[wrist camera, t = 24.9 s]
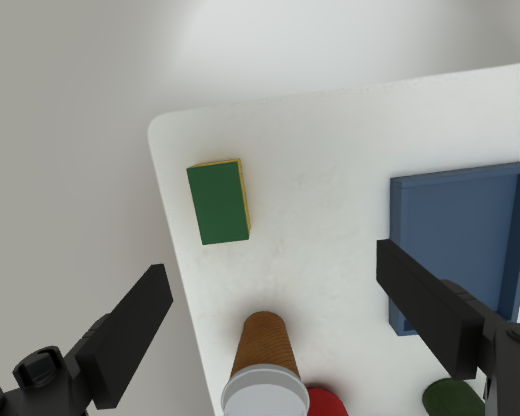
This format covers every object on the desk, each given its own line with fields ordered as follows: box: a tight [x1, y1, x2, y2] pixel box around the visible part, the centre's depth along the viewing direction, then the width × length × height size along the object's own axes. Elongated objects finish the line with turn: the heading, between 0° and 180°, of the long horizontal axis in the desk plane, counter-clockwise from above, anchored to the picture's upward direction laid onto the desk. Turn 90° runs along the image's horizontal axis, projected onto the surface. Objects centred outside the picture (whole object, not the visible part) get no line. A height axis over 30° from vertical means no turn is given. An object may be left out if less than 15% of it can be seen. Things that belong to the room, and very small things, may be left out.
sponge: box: [186, 159, 250, 245], centre depth 30 cm, size 9×6×4 cm, turn 8°
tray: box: [389, 162, 520, 336], centre depth 32 cm, size 22×16×3 cm
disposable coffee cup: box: [221, 312, 310, 416], centre depth 31 cm, size 10×10×12 cm
